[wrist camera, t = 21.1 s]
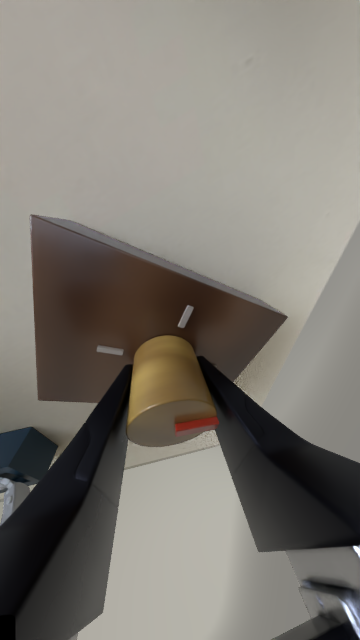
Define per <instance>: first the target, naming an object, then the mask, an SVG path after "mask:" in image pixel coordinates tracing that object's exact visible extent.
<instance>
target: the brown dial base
mask: <svg viewBox="0 0 360 640" xmlns="http://www.w3.org/2000/svg"><path fill="white" fill-rule="evenodd" d="M30 232H31V254H32V277H33V300H34V322H35V345H36V368H37V390H38V400H40V401H64V402H87V403H99V402H100V400H101V399H102V397H103V396H104V394H105V393H106V392H107V390H108V389H109V387H110V386H111V384H112V383H113V382H114V380H115V379H116V377H117V376H118V374H119V373H120V372H121V370H122V369H123V367H124V366H125V365H127V364H132V365H133V362H134V356H135V353H136V351H137V350H138V348H139V347H140V346H141V345H142V344H143V343H145V342H146V341H148V340H150V339H152V338H155V337H159V336H165V335H170V336H177V337H180V338H182V339H184V340H186V341H187V342H189V343H190V345H191V346H192V348H193V350H194V352H195V355H196V357H197V356H204V357H205V358H206V359H207V360H208V361H209V362H211V363H212V364H213V365H214V366H215V367H216V368H217V369H218V370H219V371H221V372H222V373H223V374H224V375H225V376H226V377H227V378H228V379H230V380H231V381H232V382H234V381H235V379H236V378H237V377H238V376H239V375H240V373H241V372H242V371H243V370H244V369H245V368H246V366H247V365H248V364H249V363H250V362H251V360H252V359H253V358H254V357H255V356H256V355H257V353H258V352H259V351H260V350H261V349H262V347H263V346H264V345H265V344H266V343H267V342H268V340H269V339H270V338H271V337H272V336H273V334H274V333H275V332H276V331H277V330H278V328H279V327H280V326H281V325H282V324H283V323H284V321H285V320H286V319H287V318H288V317H287V316H286V315H285V314H283V313H281V312H280V311H278V310H276V309H275V308H273V307H271V306H270V305H268V304H266V303H265V302H263V301H261V300H260V299H257V298H255V297H252V296H250V295H248V294H245V293H243V292H240V291H238V290H236V289H233V288H231V287H229V286H226V285H224V284H221V283H219V282H217V281H214V280H212V279H209V278H207V277H205V276H202V275H200V274H197V273H195V272H193V271H190V270H188V269H186V268H183V267H181V266H178V265H176V264H174V263H171V262H169V261H166V260H164V259H162V258H159V257H157V256H154V255H152V254H150V253H147V252H145V251H143V250H140V249H138V248H135V247H133V246H131V245H128V244H126V243H123V242H121V241H119V240H116V239H114V238H111V237H109V236H107V235H104V234H102V233H100V232H97V231H95V230H92V229H90V228H88V227H85V226H83V225H80V224H78V223H76V222H73V221H71V220H66V219H59V218H52V217H46V216H39V215H30Z"/></svg>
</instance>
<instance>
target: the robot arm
mask: <svg viewBox="0 0 360 640" xmlns="http://www.w3.org/2000/svg"><path fill="white" fill-rule="evenodd" d="M196 358H197V360H198V363H199V365H200V368H201V371H202V373H203V376H204V379H205V381H206V384H207V386H208V389H209V392H210V394H211V397H212V400H213V402H214V405H215V407H216V411H217V416H216V417H217V418H218V421H219V425H218V428H217V429H215V431H216V434H217V437H218V440H219V443H220V445H221V448H222V451H223V454H224V457H225V459H226V462H227V465H228V467H229V471H230V473H231V476H232V479H233V482H234V485H235V487H236V490H237V493H238V496H239V499H240V502H241V505H242V507H243V510H244V513H245V515H246V519H247V521H248V524H249V527H250V530H251V533H252V535H253V538H254V541H255V544H256V547H257V549H258V551H259V552H271V551H286V554H287V556H288V558H289V560H290V563H291V565H292V568H293V570H294V572H295V574H296V577H297V579H298V582H299V584H300V586H301V587H299V591H300V594H301V596H302V598H303V601H304V603H305V606H306V608H307V610H308V613H309V615H310V617H311V619H310V620H309V621H307V622H305V623H303V624H301V625H299V626H297V627H295V628H293V629H291V630H289V631H287V632H285V633H283V634H281V635H280V636H278V637H275V638H273V639H272V640H360V463H358V462H355V461H353V460H350V459H348V458H345V457H343V456H340V455H338V454H335V453H333V452H330V451H328V450H325V449H323V448H320V447H318V446H316V445H313V444H311V443H309V442H308V441H306V440H304V439H303V438H301V437H300V436H298V435H297V434H295V433H294V432H293V431H291V430H290V429H289V428H287V427H286V426H285V425H284V424H282V423H281V422H279V421H278V420H277V419H276V418H274V417H273V416H271V415H270V414H269V413H268V412H267V411H265V410H264V409H263V408H262V407H260V406H259V405H258V404H257V403H256V402H254V401H253V400H252V399H251V398H250V397H249V396H248V395H246V394H245V393H244V392H243V391H242V390H241V389H240V388H239V387H237V386H236V385H235V384H234V383H233V382H232V381H231V380H230V379H228V378H227V377H226V376H225V375H224V374H223V373H222V372H221V371H219V370H218V369H217V368H216V367H215V366H214V365H213V364H212V363H211V362H209V361H208V360H207V359H206V358H205V357H204V356H197V357H196ZM132 370H133V365H132V364H127V365H125V366H124V367H123V369H122V370H121V372H120V373H119V374H118V376H117V377H116V379H115V380H114V382H113V383H112V384H111V386H110V387H109V389H108V390H107V392H106V393H105V394H104V396H103V397H102V399H101V400H100V402H99V403H98V404H97V406H96V407H95V409H94V410H93V412H92V413H91V414H90V416H89V417H88V419H87V420H86V423H84V424H83V426H82V427H81V429H80V430H79V431H78V433H77V434H76V436H75V437H74V438H73V440H72V441H71V442H70V444H69V445H68V446H67V448H66V449H65V450H64V451H63V453H62V454H61V455H60V456H59V458H58V459H57V460H56V461H55V463H54V464H53V465H52V466H51V468H50V469H49V470H48V471H47V472H46V474H45V475H44V476H43V477H42V479H41V480H40V481H39V482H38V484H37V485H36V486H35V487H34V488H33V490H32V491H31V492H30V493H29V495H28V496H27V497H26V498H25V499H24V501H23V502H22V503H21V504H20V505H19V507H18V508H17V509H16V510H15V511H14V512H13V513H12V514H11V515H10V516H9V517H8V518H7V519H6V521H5V522H4V523H3V524H1V525H0V640H77V636H78V632H79V631H80V630H81V629H83V628H84V627H85V626H87V625H88V624H89V623H91V622H92V621H93V620H94V619H96V618H97V617H98V616H99V615H100V614H102V613H103V607H104V601H105V595H106V588H107V581H108V574H109V567H110V560H111V554H112V547H113V540H114V533H115V526H116V520H117V513H118V506H119V499H120V492H121V484H122V478H123V471H124V465H125V458H126V451H127V444H128V437H127V435H126V422H127V413H128V405H129V396H130V388H131V379H132Z"/></svg>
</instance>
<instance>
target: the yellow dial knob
mask: <svg viewBox="0 0 360 640" xmlns="http://www.w3.org/2000/svg"><path fill="white" fill-rule="evenodd" d="M216 416H217V411H216V407H215V405H214V402H213V400H212V397H211V394H210V392H209V389H208V386H207V384H206V381H205V379H204V376H203V373H202V371H201V368H200V365H199V363H198V360H197V358H196V355H195V352H194V350H193V348H192V346H191V345H190V343H189V342H187V341H186V340H184V339H182V338H180V337H177V336H170V335H165V336H159V337H155V338H152V339H150V340H148V341H146V342H145V343H143V344H142V345H141V346H140V347H139V348H138V350H137V351H136V353H135V356H134V362H133V370H132V379H131V388H130V396H129V405H128V413H127V422H126V435H127V437H128V439H129V440H130V441H132V442H133V443H135V444H138V445H142V446H148V447H162V446H169V445H174V444H178V443H182V442H185V441H187V440H190V439H192V438H194V437H196V436H198V435H200V434H202V433H203V432H205V431H210V430H215V429H217V428H218V425H219V421H218V418H217V417H216Z"/></svg>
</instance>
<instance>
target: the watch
mask: <svg viewBox="0 0 360 640" xmlns="http://www.w3.org/2000/svg"><path fill="white" fill-rule="evenodd" d="M57 448H58V446H57V445H56V444H54V443H53V442H51V441H50V440H49V439H47V438H46V437H45V436H43V435H42V434H41V433H39V432H38V431H36V430H35V429H34V428H32V427H29V428H25V429H20V430H16V431H11V432H6V433H2V434H0V493H3V492H5V494H4V507H3V514H2V519H1V523H0V525H1V524H3V523H4V522H5V521H6V519H7V518H8V517H9V516H10V515H11V514H12V513H13V512H14V511H15V510H16V509H17V508H18V507H19V505H20V504H21V503H22V502H23V501H24V499H25V498H26V497H27V496H28V495H29V493H30V488H29V487H28V486H30V485H34V484H37V483H38V482H39V481H40V480H41V479H42V477H43V476H44V475H45V474H46V472H47V471H48V469H49V467H50V464H51V462H52V460H53V457H54V455H55V453H56V450H57Z"/></svg>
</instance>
